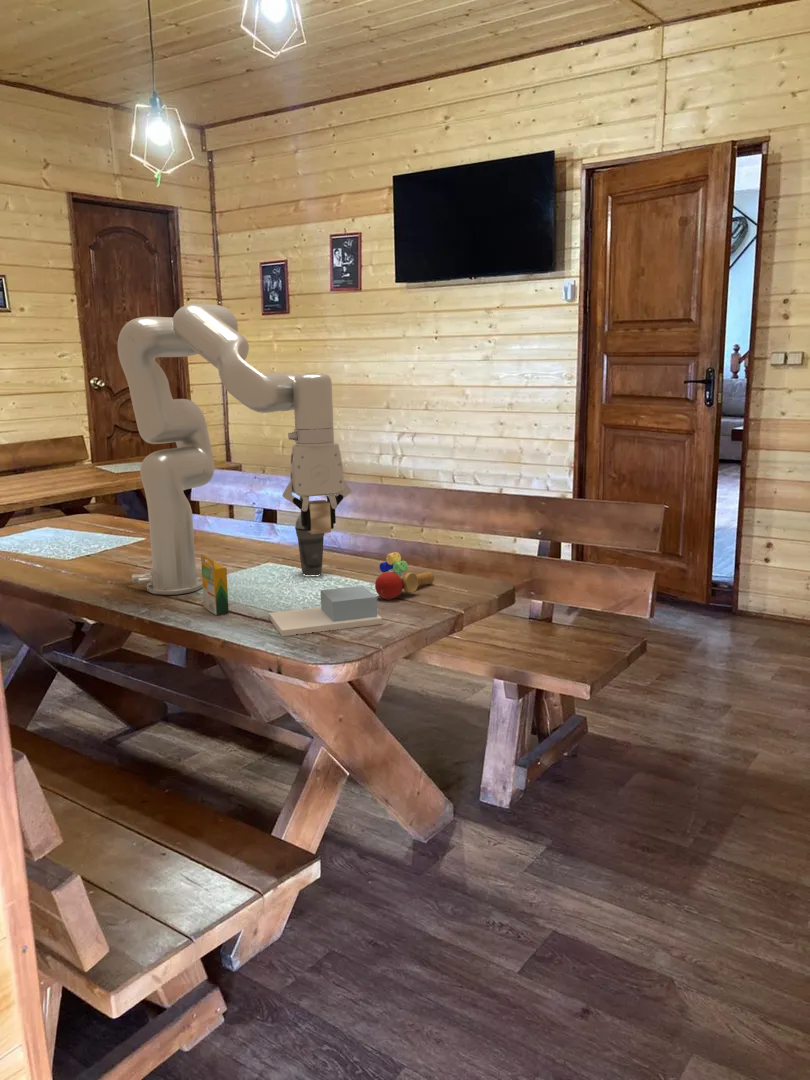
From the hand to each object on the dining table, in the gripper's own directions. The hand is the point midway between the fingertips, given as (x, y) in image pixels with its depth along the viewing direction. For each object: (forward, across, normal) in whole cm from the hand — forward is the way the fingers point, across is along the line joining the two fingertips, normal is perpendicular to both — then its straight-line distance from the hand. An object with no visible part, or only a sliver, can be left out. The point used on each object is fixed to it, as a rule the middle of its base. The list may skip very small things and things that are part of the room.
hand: (318, 527), depth 175 cm
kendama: (+18, +21, +9) cm, 29 cm away
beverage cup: (+18, +6, +32) cm, 37 cm away
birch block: (+1, 0, 0) cm, 1 cm away
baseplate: (+18, -1, -5) cm, 19 cm away
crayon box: (+18, -20, +11) cm, 29 cm away
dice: (+18, +23, +21) cm, 36 cm away
